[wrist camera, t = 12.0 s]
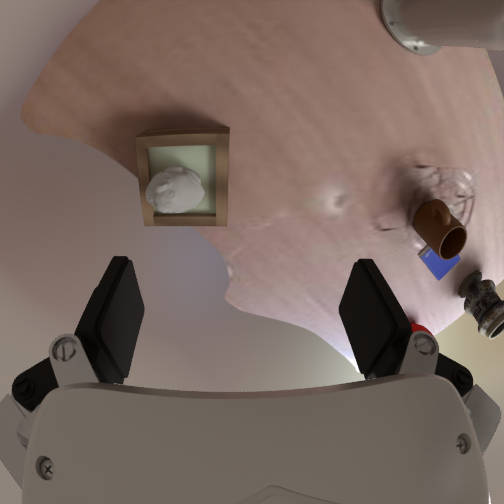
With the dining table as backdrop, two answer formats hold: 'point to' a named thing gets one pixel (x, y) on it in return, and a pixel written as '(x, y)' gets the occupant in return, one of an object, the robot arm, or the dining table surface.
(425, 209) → the mug
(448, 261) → the hard drive
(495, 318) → the apothecary jar
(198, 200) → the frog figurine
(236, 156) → the dining table surface
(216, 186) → the pedestal
